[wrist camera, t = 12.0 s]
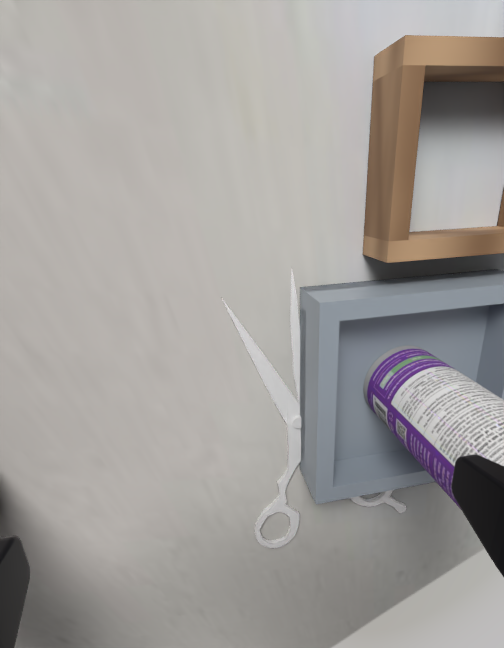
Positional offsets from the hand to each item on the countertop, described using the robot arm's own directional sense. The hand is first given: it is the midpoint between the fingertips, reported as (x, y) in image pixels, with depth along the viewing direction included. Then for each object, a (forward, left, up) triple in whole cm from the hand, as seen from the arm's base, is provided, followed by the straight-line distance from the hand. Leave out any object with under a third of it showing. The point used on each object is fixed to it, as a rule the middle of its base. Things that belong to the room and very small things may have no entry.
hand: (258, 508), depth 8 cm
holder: (+13, +7, -13) cm, 20 cm away
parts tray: (+11, -5, -13) cm, 18 cm away
